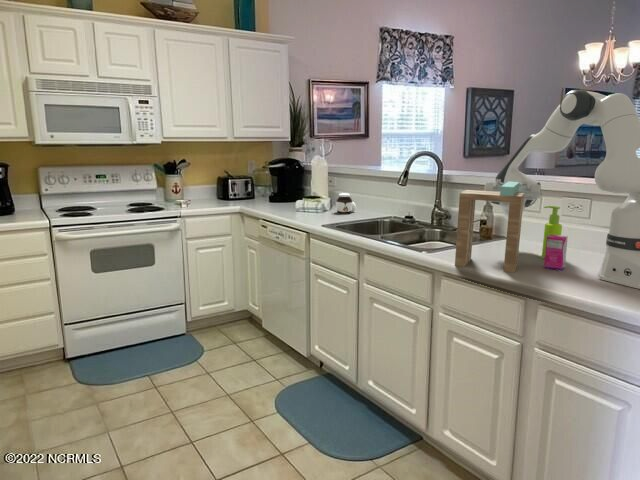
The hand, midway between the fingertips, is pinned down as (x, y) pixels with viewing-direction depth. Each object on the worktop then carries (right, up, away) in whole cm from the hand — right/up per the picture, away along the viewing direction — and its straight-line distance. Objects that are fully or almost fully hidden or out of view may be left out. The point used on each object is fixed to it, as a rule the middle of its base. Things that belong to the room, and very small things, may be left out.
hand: (511, 181), depth 182 cm
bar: (-4, -5, -8) cm, 10 cm away
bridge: (-11, -31, -5) cm, 33 cm away
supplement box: (+12, -32, -8) cm, 35 cm away
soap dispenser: (+17, -29, +7) cm, 34 cm away
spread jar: (-55, -5, +120) cm, 132 cm away
